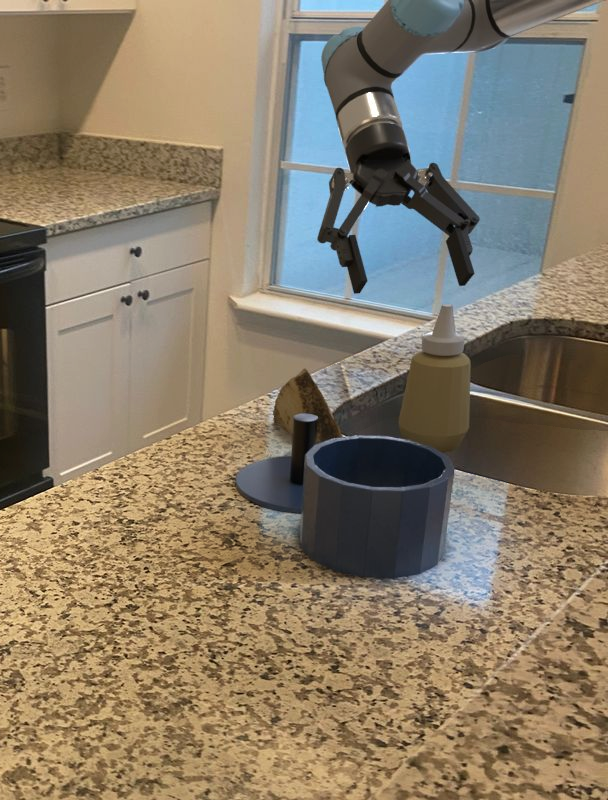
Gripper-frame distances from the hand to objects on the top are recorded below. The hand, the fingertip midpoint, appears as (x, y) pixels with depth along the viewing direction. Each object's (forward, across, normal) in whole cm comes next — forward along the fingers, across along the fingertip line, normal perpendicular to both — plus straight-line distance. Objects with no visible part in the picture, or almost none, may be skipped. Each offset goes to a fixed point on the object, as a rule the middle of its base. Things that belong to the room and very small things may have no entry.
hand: (414, 283), depth 123 cm
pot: (+35, +17, +9) cm, 40 cm away
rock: (+14, +13, -13) cm, 23 cm away
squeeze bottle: (+19, 0, -7) cm, 21 cm away
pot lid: (+24, +19, -2) cm, 30 cm away
